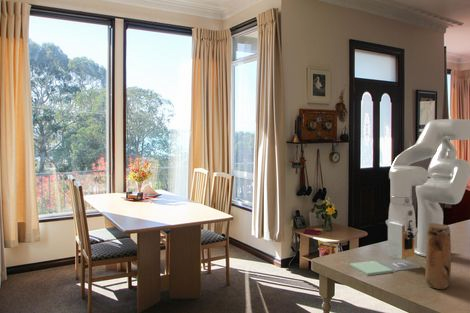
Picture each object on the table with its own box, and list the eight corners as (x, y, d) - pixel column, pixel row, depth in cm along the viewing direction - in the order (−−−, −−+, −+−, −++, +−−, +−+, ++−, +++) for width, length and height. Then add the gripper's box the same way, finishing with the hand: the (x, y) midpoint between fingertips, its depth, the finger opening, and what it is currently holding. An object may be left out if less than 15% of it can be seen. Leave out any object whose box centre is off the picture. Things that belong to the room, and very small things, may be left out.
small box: (402, 259, 145) (402, 225, 144) (387, 255, 151) (387, 222, 150) (414, 255, 150) (415, 222, 149) (400, 251, 155) (400, 219, 154)
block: (425, 277, 137) (427, 221, 136) (450, 281, 133) (451, 223, 132) (424, 288, 127) (425, 227, 126) (450, 292, 124) (451, 230, 123)
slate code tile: (403, 259, 156) (403, 259, 156) (422, 267, 147) (422, 267, 147) (377, 262, 153) (377, 262, 153) (395, 271, 143) (395, 270, 143)
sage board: (373, 262, 153) (373, 260, 153) (393, 272, 142) (393, 269, 142) (349, 265, 150) (349, 263, 149) (367, 275, 139) (367, 273, 139)
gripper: (426, 203, 141) (426, 251, 143) (393, 196, 158) (393, 238, 159) (409, 205, 139) (409, 254, 141) (377, 197, 156) (378, 241, 157)
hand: (401, 245), depth 150 cm, fingers closed on small box, 7 cm apart
